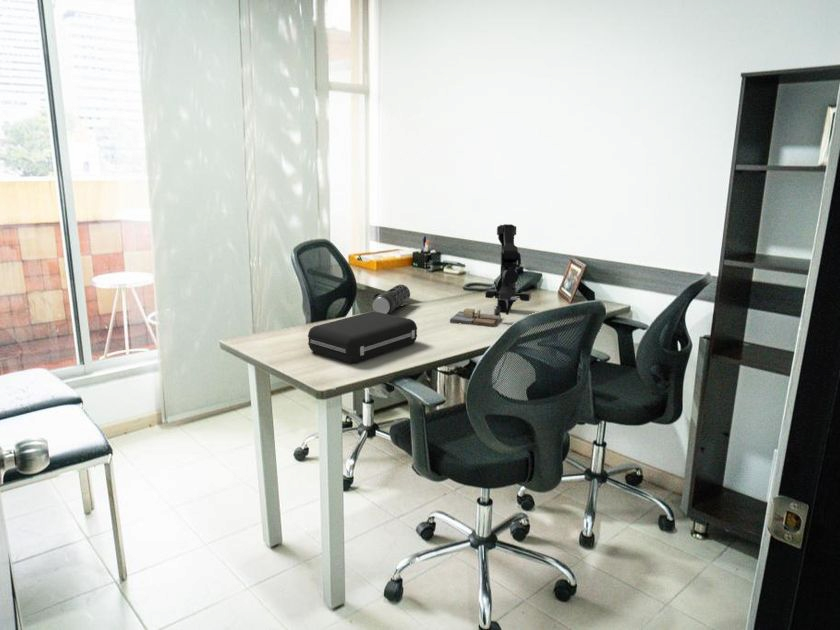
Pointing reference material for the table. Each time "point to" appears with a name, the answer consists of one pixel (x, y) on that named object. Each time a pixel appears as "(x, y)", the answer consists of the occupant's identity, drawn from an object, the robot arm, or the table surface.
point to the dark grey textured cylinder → (391, 299)
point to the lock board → (473, 320)
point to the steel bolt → (493, 316)
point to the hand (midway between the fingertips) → (507, 314)
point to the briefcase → (362, 336)
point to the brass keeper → (471, 313)
